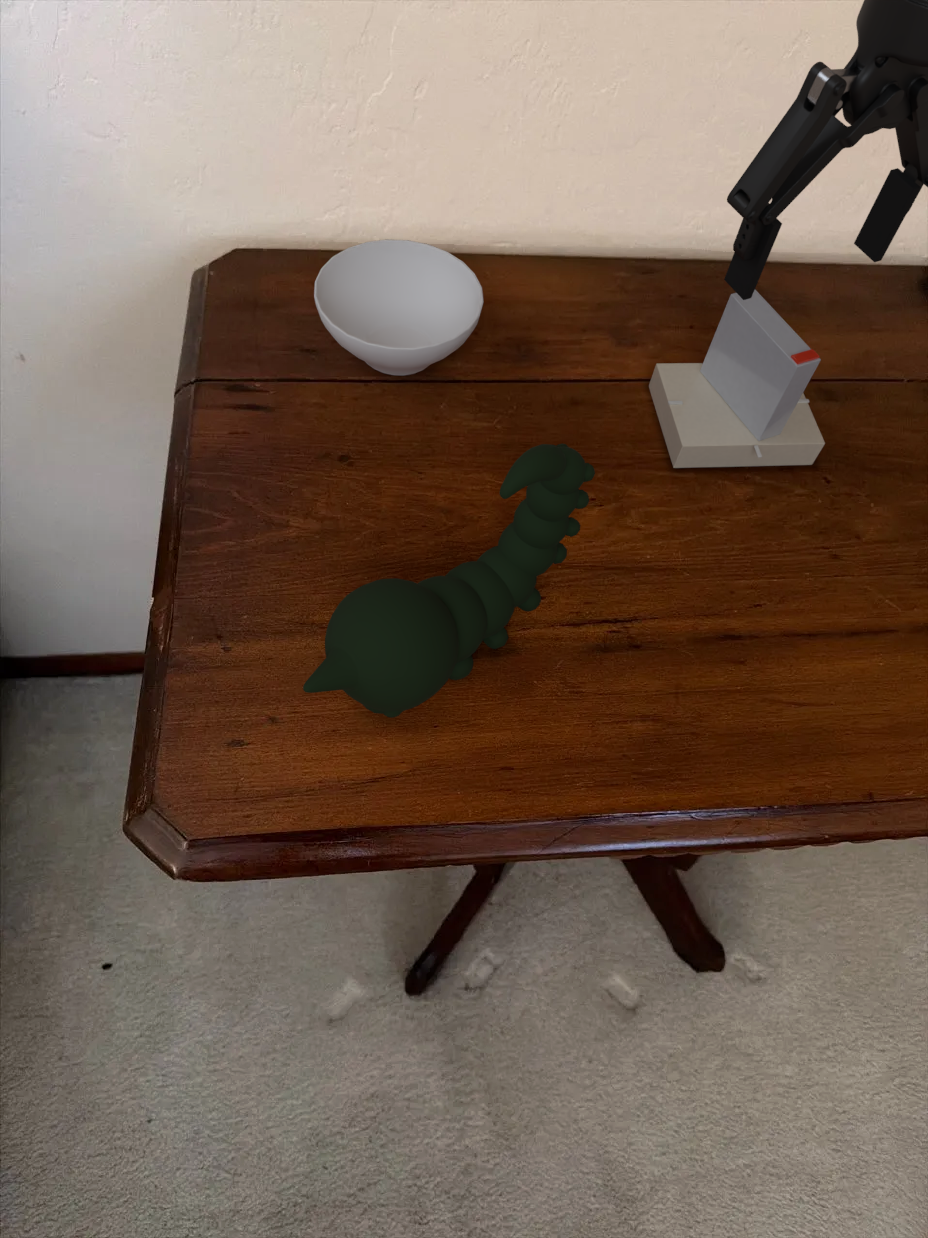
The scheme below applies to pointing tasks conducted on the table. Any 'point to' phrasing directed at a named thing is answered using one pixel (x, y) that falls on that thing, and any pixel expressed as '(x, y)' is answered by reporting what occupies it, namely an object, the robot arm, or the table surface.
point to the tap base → (723, 425)
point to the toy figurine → (453, 597)
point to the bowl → (398, 303)
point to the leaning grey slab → (758, 365)
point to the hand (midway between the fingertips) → (803, 270)
